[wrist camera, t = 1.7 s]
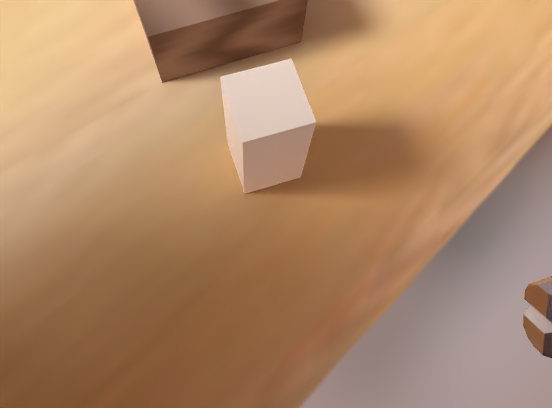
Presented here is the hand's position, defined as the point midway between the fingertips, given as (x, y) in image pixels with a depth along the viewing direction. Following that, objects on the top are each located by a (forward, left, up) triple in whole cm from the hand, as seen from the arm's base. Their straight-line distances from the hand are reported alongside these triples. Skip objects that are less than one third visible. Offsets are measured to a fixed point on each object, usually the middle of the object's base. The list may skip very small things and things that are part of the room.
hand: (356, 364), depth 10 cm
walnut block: (+3, +29, -24) cm, 38 cm away
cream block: (+3, +14, -23) cm, 28 cm away
